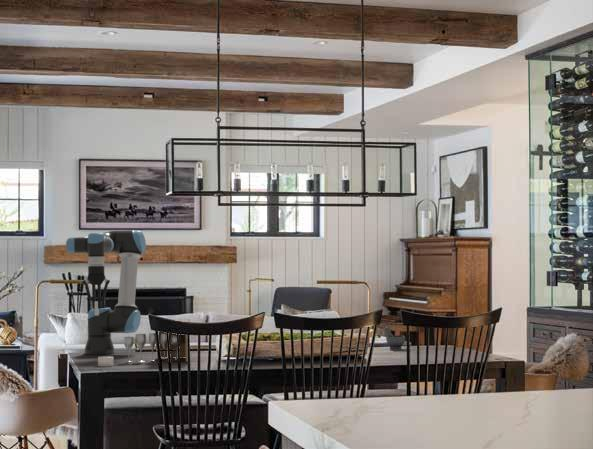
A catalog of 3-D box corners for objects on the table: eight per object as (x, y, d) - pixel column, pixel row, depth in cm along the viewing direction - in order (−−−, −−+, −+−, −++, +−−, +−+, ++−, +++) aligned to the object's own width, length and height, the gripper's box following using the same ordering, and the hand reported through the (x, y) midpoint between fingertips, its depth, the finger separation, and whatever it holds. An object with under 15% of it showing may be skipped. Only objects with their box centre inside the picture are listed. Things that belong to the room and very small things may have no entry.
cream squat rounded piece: (98, 365, 443) (98, 356, 443) (114, 364, 444) (114, 356, 444) (97, 366, 436) (97, 358, 436) (112, 366, 437) (112, 357, 437)
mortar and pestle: (404, 348, 504) (403, 325, 505) (406, 350, 495) (405, 327, 495) (382, 348, 504) (382, 325, 505) (384, 350, 495) (384, 327, 495)
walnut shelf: (156, 358, 465) (156, 319, 465) (189, 358, 466) (189, 319, 467) (154, 363, 445) (154, 322, 446) (188, 363, 446) (188, 322, 447)
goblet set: (125, 363, 449) (124, 335, 449) (122, 362, 454) (122, 334, 455) (183, 360, 458) (183, 332, 459) (180, 359, 464) (180, 331, 464)
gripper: (81, 266, 449) (81, 316, 449) (109, 265, 451) (109, 315, 450) (83, 265, 457) (83, 314, 457) (110, 265, 458) (111, 314, 458)
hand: (96, 315), depth 453 cm, fingers closed
